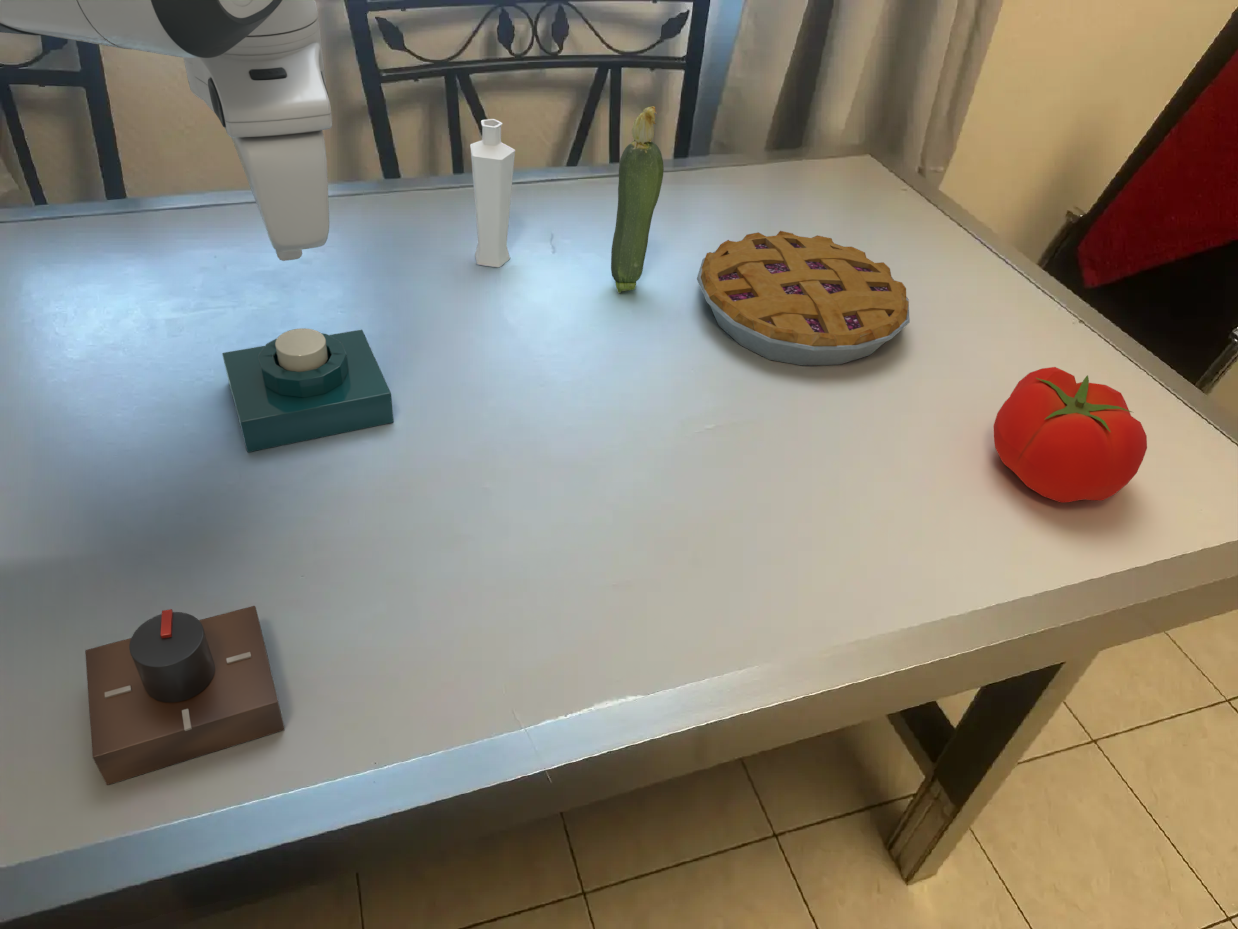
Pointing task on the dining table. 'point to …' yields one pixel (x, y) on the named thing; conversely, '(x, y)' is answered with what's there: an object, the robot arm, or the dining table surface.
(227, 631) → the dial panel
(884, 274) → the pie
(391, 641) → the dining table surface
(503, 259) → the perfume bottle
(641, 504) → the dining table surface
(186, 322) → the dining table surface
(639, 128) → the vegetable
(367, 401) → the teal push button box
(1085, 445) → the tomato
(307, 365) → the cream push button
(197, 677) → the dial
